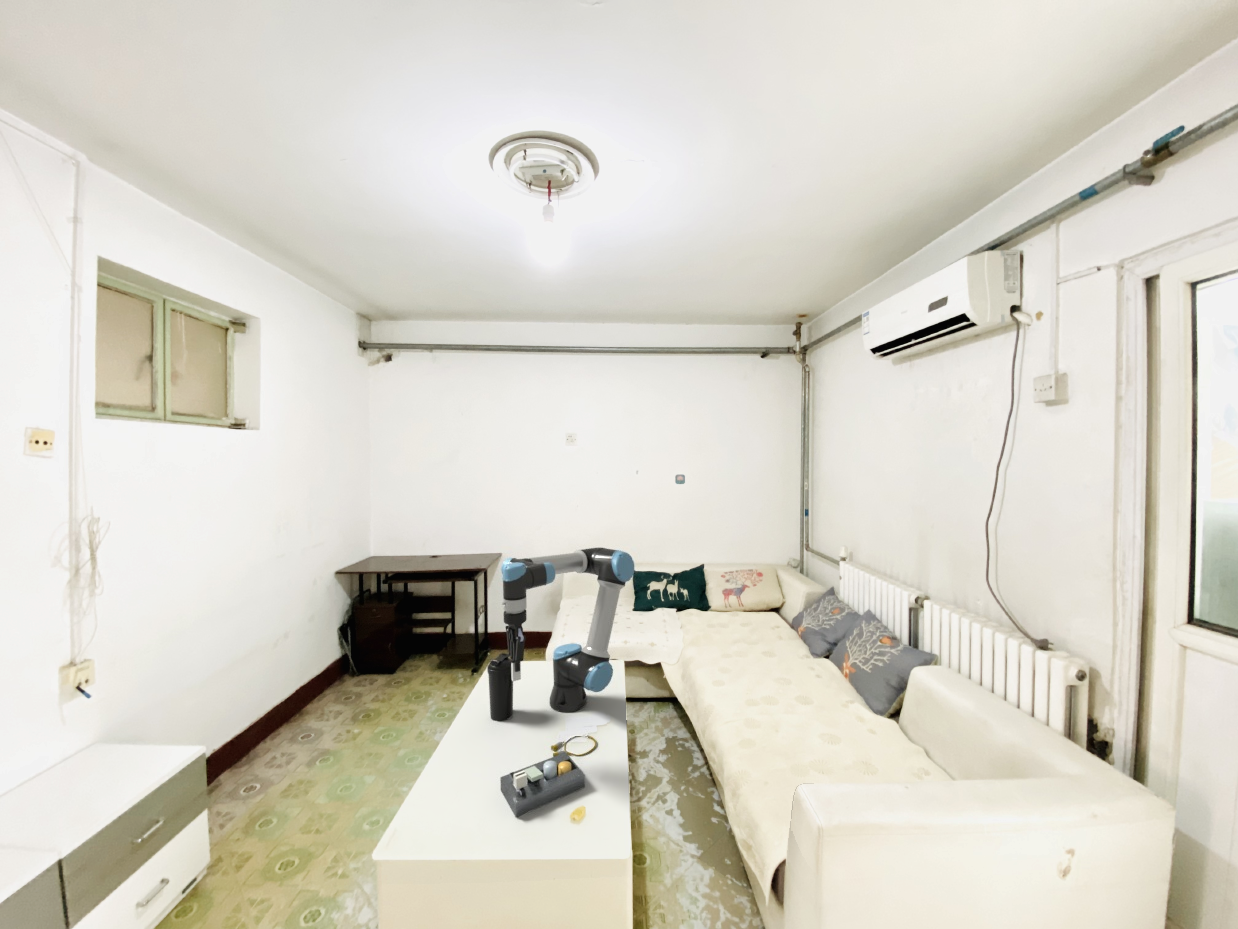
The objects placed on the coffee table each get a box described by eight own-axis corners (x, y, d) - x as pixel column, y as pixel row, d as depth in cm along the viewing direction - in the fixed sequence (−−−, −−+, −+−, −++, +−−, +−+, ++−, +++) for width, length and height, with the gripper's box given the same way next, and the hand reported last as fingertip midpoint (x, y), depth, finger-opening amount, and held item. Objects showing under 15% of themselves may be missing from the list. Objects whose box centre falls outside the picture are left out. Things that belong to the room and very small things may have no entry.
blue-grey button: (553, 772, 149) (553, 759, 149) (558, 779, 146) (558, 766, 146) (541, 777, 147) (541, 763, 147) (546, 784, 144) (546, 770, 144)
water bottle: (520, 711, 189) (519, 654, 189) (503, 725, 180) (502, 664, 179) (499, 706, 193) (498, 650, 193) (482, 718, 184) (481, 660, 184)
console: (565, 764, 157) (565, 748, 157) (584, 787, 146) (584, 770, 146) (500, 790, 145) (500, 773, 145) (515, 817, 134) (515, 799, 134)
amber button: (567, 772, 152) (567, 759, 152) (573, 779, 149) (573, 766, 149) (556, 777, 150) (556, 764, 150) (562, 784, 147) (561, 771, 146)
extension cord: (552, 738, 172) (552, 733, 172) (596, 736, 172) (596, 731, 172) (549, 760, 159) (549, 754, 159) (596, 758, 160) (596, 752, 160)
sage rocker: (534, 769, 147) (534, 765, 148) (543, 777, 142) (543, 773, 142) (523, 773, 145) (523, 770, 146) (532, 782, 140) (531, 778, 140)
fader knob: (524, 781, 141) (523, 769, 141) (527, 785, 139) (526, 774, 139) (513, 785, 139) (513, 773, 139) (516, 789, 137) (516, 778, 137)
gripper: (497, 606, 163) (498, 675, 164) (510, 617, 152) (512, 690, 153) (518, 603, 167) (519, 669, 168) (533, 613, 156) (534, 684, 157)
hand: (516, 679), depth 160 cm, fingers closed
